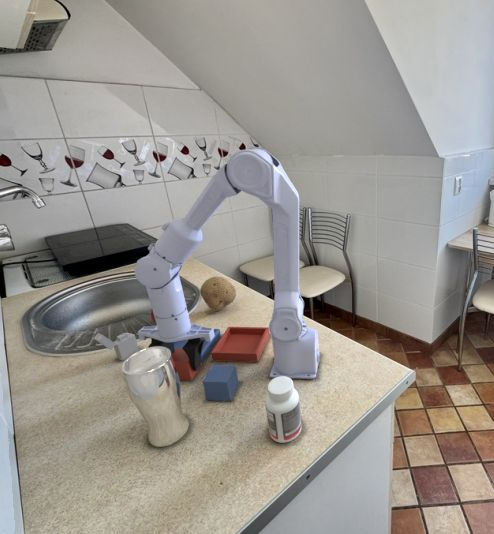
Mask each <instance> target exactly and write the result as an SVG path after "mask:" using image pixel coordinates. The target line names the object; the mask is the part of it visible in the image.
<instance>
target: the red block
mask: <svg viewBox="0 0 494 534" xmlns="http://www.w3.org/2000/svg"><path fill="white" fill-rule="evenodd" d="M172 357H173V359H174V362H175V364H176V367H177V371H178V374H179V379H180V381H193V380H194V378H195V376H196V375H197V374H198V372H199V371H200V369H201V368H202V366H203V363H202V364H201V365H200V366H199V368H198V369H197V371H193V369H192V367H191V364H190V360H189V358H188V356H187V354H186V353H185V351H184V350H183V348H176V350H175V351H174V352H173V353H172Z"/></svg>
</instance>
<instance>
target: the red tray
mask: <svg viewBox="0 0 494 534" xmlns="http://www.w3.org/2000/svg"><path fill="white" fill-rule="evenodd" d="M270 335H271V333H270V330H269V326H268V327H267V326H266V327H265V326H228V327H227V328H226V330H225V331H224V333H223V334H222V335H221V337H220V338H219V340H218V341H217V343H216V344H215V346H214V347H213V349H212V350H211V352H210V355H211V360H212V362H240V363H241V362H246V363H247V362H248V363H258V362H259V360H260V358H261V356H262V353H263V351H264V349H265V347H266V344H267V342H268V340H269V337H270Z"/></svg>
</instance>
